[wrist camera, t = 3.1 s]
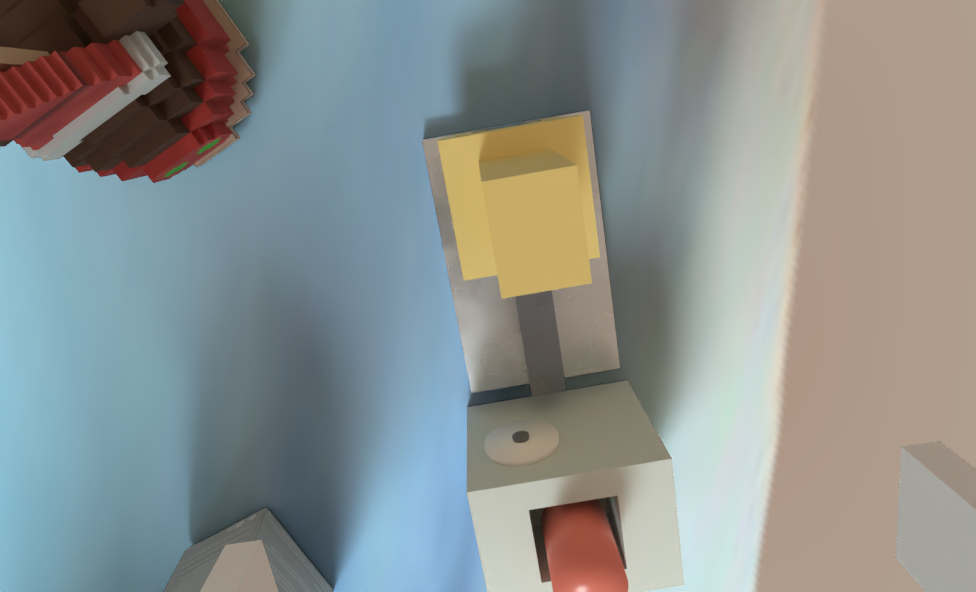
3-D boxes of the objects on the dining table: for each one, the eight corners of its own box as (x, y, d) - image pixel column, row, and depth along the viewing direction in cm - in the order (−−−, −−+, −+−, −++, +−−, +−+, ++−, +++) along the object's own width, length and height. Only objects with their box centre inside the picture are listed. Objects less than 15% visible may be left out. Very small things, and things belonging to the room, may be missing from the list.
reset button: (546, 550, 34) (558, 623, 29) (536, 496, 33) (548, 563, 28) (609, 540, 34) (632, 612, 29) (601, 485, 33) (624, 551, 28)
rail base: (471, 387, 39) (471, 406, 37) (423, 139, 35) (419, 142, 32) (617, 363, 39) (627, 380, 37) (587, 110, 35) (596, 111, 32)
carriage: (464, 265, 36) (462, 336, 25) (440, 137, 34) (427, 155, 23) (588, 243, 35) (640, 306, 25) (572, 113, 33) (621, 121, 23)
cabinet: (487, 509, 42) (492, 615, 33) (465, 398, 39) (464, 481, 31) (639, 484, 42) (684, 584, 33) (626, 371, 39) (670, 447, 31)
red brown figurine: (186, -72, 32) (-150, -276, 14) (304, 94, 34) (136, 91, 17) (26, 53, 33) (-454, 4, 16) (149, 204, 35) (-150, 304, 18)
